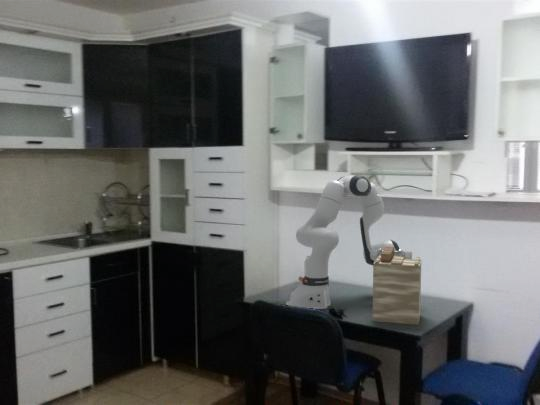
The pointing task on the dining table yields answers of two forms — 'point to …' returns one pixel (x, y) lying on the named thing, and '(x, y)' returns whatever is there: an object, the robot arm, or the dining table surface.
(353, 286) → the dining table surface
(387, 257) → the rail bar
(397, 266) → the slotted stand
